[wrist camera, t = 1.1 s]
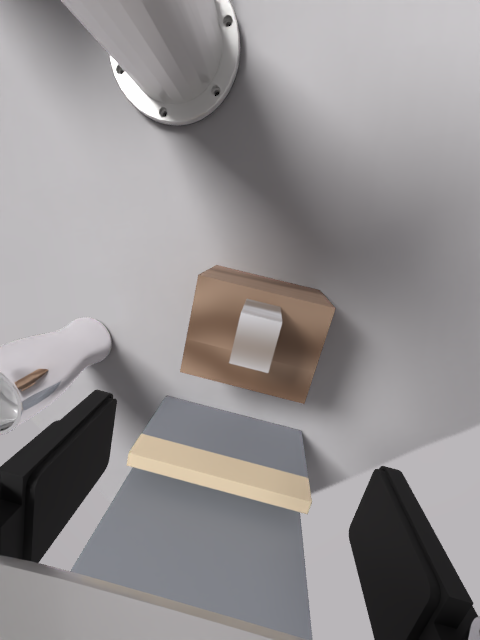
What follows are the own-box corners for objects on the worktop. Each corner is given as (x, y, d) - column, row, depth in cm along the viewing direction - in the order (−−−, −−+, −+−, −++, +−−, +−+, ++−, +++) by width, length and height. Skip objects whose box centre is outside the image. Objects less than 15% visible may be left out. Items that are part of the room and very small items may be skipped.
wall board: (166, 395, 40) (48, 573, 19) (301, 430, 39) (334, 655, 18) (160, 430, 42) (44, 631, 21) (289, 465, 41) (308, 708, 20)
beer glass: (118, 320, 38) (24, 372, 24) (113, 370, 40) (23, 447, 26) (64, 307, 38) (-61, 351, 24) (62, 358, 40) (-56, 426, 26)
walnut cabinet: (216, 265, 35) (182, 283, 22) (319, 290, 35) (349, 324, 21) (201, 340, 38) (161, 399, 24) (296, 364, 37) (310, 437, 24)
